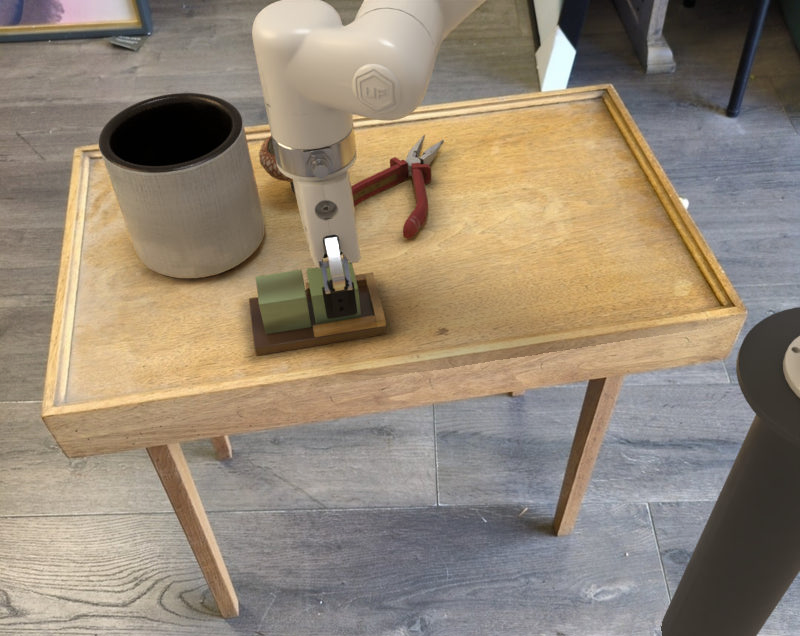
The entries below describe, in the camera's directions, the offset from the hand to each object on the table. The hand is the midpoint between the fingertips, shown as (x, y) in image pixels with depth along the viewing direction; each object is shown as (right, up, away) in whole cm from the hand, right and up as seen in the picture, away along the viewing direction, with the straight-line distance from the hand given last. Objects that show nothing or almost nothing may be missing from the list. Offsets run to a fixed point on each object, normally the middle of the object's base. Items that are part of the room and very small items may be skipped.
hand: (335, 284), depth 90 cm
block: (0, -2, +3) cm, 4 cm away
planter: (-17, +7, +14) cm, 23 cm away
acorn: (-6, +14, +19) cm, 25 cm away
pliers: (+8, +14, +18) cm, 24 cm away
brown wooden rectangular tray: (-2, -4, +4) cm, 6 cm away
